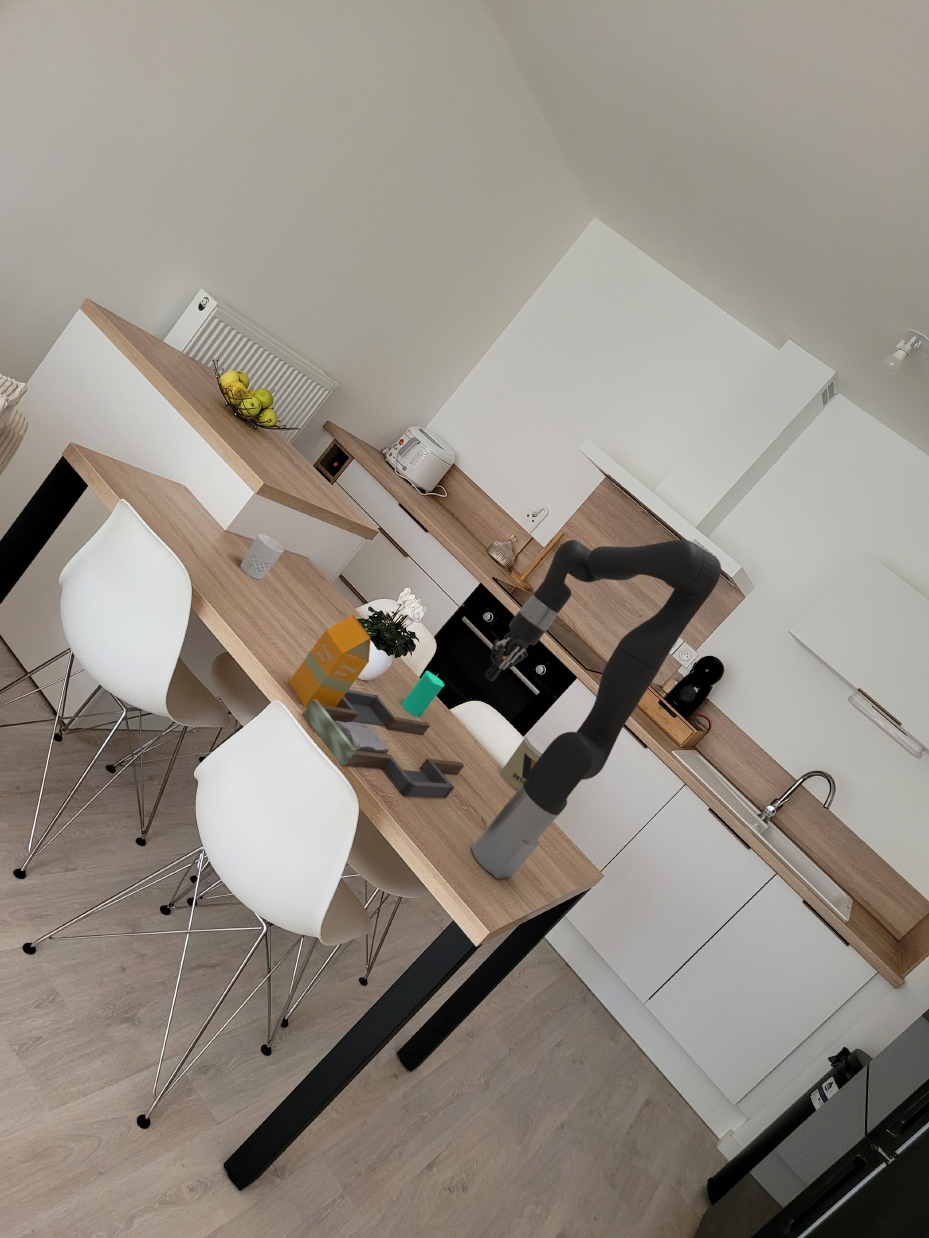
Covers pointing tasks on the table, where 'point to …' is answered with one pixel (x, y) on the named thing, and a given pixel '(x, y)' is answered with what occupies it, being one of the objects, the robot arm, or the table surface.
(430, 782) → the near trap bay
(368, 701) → the tray
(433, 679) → the candle
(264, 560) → the white cup
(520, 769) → the beige canister
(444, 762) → the corridor
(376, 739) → the stone block
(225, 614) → the table surface
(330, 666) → the orange juice
